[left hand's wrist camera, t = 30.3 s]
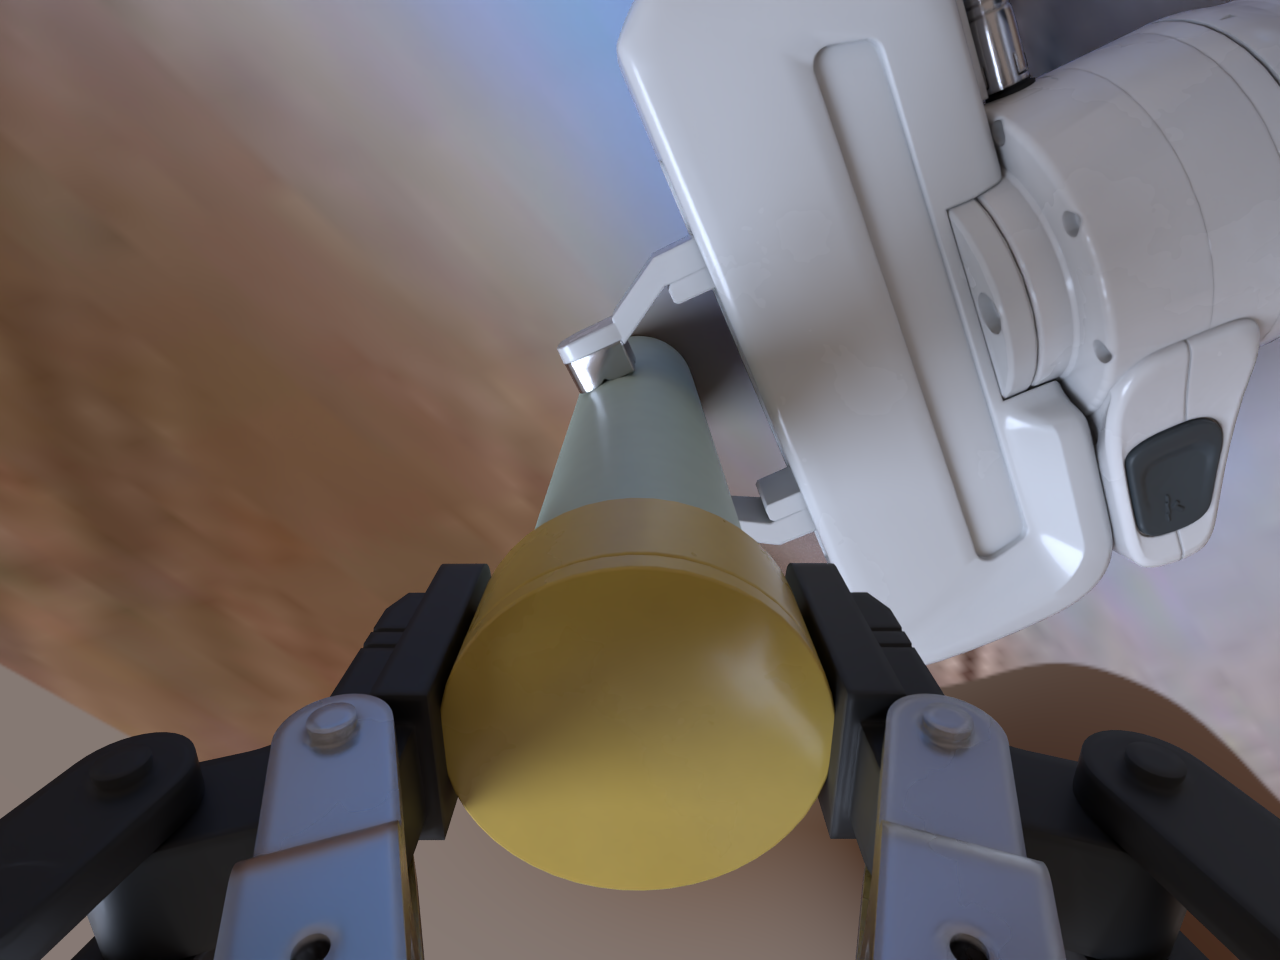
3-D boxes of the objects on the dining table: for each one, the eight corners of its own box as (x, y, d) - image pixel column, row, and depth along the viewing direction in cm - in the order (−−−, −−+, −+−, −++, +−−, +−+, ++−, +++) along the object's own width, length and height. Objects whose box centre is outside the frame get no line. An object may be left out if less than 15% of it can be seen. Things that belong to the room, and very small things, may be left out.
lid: (424, 549, 11) (371, 632, 9) (755, 453, 10) (784, 515, 8) (541, 804, 12) (521, 925, 10) (831, 733, 12) (872, 844, 10)
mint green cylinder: (636, 311, 26) (631, 496, 9) (716, 388, 27) (847, 686, 10) (561, 392, 27) (429, 696, 10) (641, 463, 28) (643, 850, 11)
